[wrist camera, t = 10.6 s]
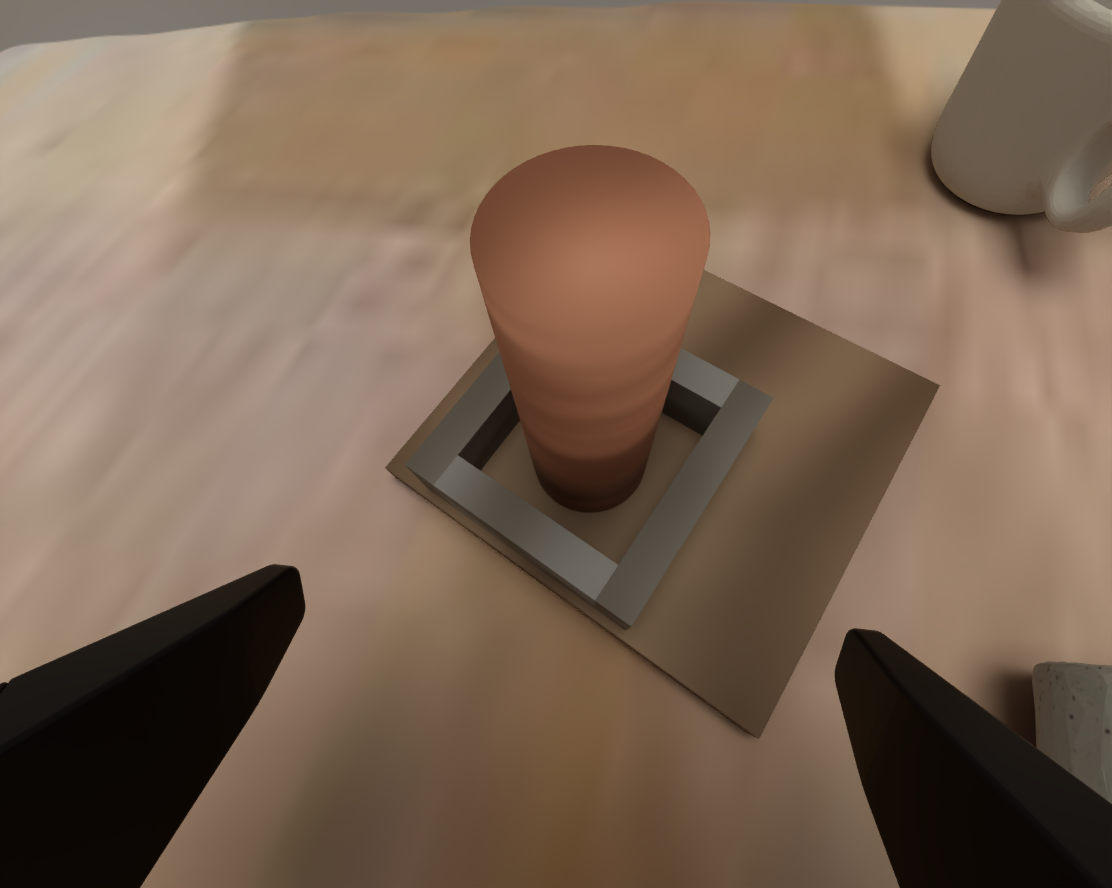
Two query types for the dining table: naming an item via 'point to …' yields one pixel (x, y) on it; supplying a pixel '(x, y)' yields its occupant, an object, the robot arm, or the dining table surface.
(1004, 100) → the cup
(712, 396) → the socket board
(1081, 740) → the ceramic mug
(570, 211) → the peg
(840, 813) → the dining table surface
